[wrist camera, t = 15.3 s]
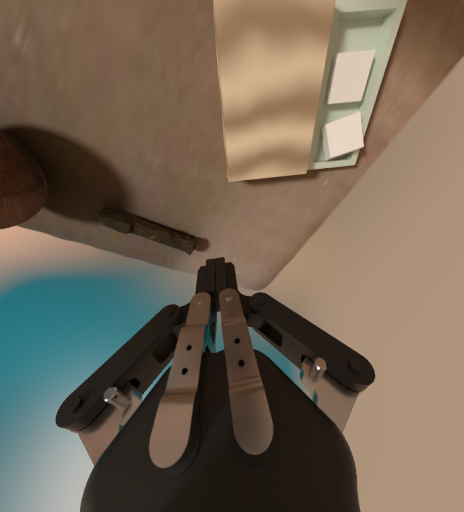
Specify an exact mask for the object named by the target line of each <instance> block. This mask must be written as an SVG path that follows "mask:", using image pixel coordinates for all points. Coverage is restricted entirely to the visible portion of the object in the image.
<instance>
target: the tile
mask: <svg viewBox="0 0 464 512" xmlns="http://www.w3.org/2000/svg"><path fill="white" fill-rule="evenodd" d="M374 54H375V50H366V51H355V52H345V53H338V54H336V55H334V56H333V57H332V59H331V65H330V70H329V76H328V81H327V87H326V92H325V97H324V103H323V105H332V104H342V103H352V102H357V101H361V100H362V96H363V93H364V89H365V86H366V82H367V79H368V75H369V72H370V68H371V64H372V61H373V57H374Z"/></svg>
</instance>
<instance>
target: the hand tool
mask: <svg viewBox="0 0 464 512" xmlns="http://www.w3.org/2000/svg"><path fill="white" fill-rule="evenodd" d="M99 219H100V221H101V222H102V223H103V225H105V226H107V227H110V228H112V229H114V230H116V231H118V232H121V233H124V234H128V233H132V234H136V235H139V236H142V237H145V238H147V239H150V240H153V241H156V242H159V243H161V244H164V245H167V246H170V247H173V248H176V249H179V250H182V251H185V252H186V253H188V254H189V255H191V253H192V252H193V250H194V248H195V244H196V238H191V237H190V236H189V235H188V236H185V235H182V234H180V233H177V232H174V231H171V230H168V229H166V228H165V227H161V226H158V225H155V224H152V223H150V222H147V221H145V220H142V219H139V218H137V217H136V215H134V214H131V213H127V212H123V211H117V210H110V209H103V210H101V211H100V212H99Z"/></svg>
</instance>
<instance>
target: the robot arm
mask: <svg viewBox="0 0 464 512" xmlns="http://www.w3.org/2000/svg"><path fill="white" fill-rule="evenodd" d="M197 276H198V277H197V284H196V293H195V295H194V296H193V298H192V300H191V302H190V303H188V304H186V305H184V306H181V307H179V306H177V305H175V304H173V305H168V306H166V307H164V308H163V309H162V310H161V311H160V312H159V313H157V314H156V315H155V316H154V317H153V318H152V319H151V320H150V321H149V322H148V323H147V324H146V325H145V326H144V327H143V328H142V329H140V330H139V331H138V332H137V333H136V334H135V335H134V336H133V337H132V338H131V339H130V340H129V341H127V342H126V343H125V344H124V345H123V346H122V347H121V348H120V349H119V350H118V351H117V352H116V353H114V354H113V355H112V356H111V357H110V358H109V359H108V360H107V361H106V362H105V363H104V364H103V365H102V366H101V367H99V368H98V369H97V370H96V371H95V372H94V373H93V374H92V375H91V376H90V377H89V378H88V379H87V380H85V382H83V383H82V384H81V385H80V386H79V387H78V388H77V389H76V390H75V391H74V392H73V393H71V394H70V395H69V396H68V397H67V399H66V400H65V401H64V402H63V403H62V405H61V406H60V408H59V410H58V412H57V415H56V424H57V426H59V427H61V428H65V429H68V430H70V431H72V432H75V433H78V435H79V436H80V438H81V440H82V443H83V444H84V446H85V448H86V450H87V452H88V454H89V456H90V458H91V460H92V462H93V464H94V468H93V470H92V472H91V474H90V477H89V479H88V481H87V484H86V487H85V490H84V493H83V497H82V501H81V508H80V512H360V507H359V500H358V492H357V474H356V467H355V463H354V459H353V456H352V453H351V450H350V447H349V445H348V443H347V441H346V439H345V437H344V436H343V434H342V432H343V430H344V428H345V425H346V423H347V420H348V418H349V415H350V413H351V410H352V408H353V406H354V403H355V401H356V398H357V396H359V395H360V394H361V393H362V392H363V391H364V390H365V389H366V388H367V387H368V386H369V385H370V384H371V383H372V382H373V381H374V379H375V372H374V369H373V367H372V365H371V364H370V362H369V361H368V360H367V359H366V358H365V357H363V356H362V355H360V354H359V353H357V352H356V351H354V350H353V349H351V348H350V347H348V346H347V345H345V344H343V343H342V342H340V341H339V340H337V339H336V338H334V337H333V336H331V335H329V334H328V333H326V332H325V331H323V330H322V329H320V328H318V327H317V326H316V325H314V324H312V323H311V322H309V321H308V320H306V319H305V318H303V317H302V316H300V315H298V314H297V313H295V312H294V311H292V310H291V309H289V308H288V307H286V306H285V305H283V304H281V303H280V302H278V301H277V300H275V299H274V298H272V297H271V296H269V295H268V294H266V293H261V292H259V293H256V294H254V295H252V297H251V296H245V295H242V294H241V293H240V292H239V291H238V287H237V281H236V274H235V267H234V265H233V264H232V263H231V262H229V263H225V258H224V257H221V258H216V259H207V260H206V266H201V267H200V269H199V270H198V275H197ZM218 311H221V319H222V323H221V324H222V334H223V341H224V350H222V351H219V352H217V353H216V333H217V312H218ZM248 326H249V327H253V329H254V330H255V331H256V332H257V333H258V334H260V335H261V336H262V337H263V338H264V339H265V340H267V341H268V342H269V343H270V344H271V345H273V346H274V347H275V348H276V349H277V350H278V351H279V352H281V353H282V354H283V355H284V356H285V357H287V358H288V359H289V360H290V361H291V362H292V363H294V364H295V365H296V366H297V367H298V368H299V369H300V379H301V381H302V384H303V385H304V386H305V388H306V389H307V390H308V391H309V393H310V394H311V396H312V399H313V401H312V400H311V399H310V398H309V397H308V396H307V395H306V394H305V393H304V392H303V391H302V390H301V389H300V388H299V387H298V386H297V385H296V384H295V383H294V382H293V381H292V380H291V379H290V378H289V377H288V376H287V375H286V374H285V373H284V372H283V371H282V370H281V369H280V368H279V367H278V366H277V365H276V364H275V363H274V362H273V361H272V360H271V359H270V358H269V357H267V356H266V355H264V354H263V353H262V352H260V351H257V350H254V349H253V346H252V342H251V338H250V334H249V330H248ZM173 357H174V358H173ZM172 358H173V362H172V365H171V366H170V367H169V368H168V369H167V371H166V372H165V373H164V374H163V375H162V377H161V378H160V379H159V381H158V382H157V383H156V384H155V386H154V387H153V388H152V390H151V391H150V392H149V394H148V395H147V396H146V397H145V399H144V400H143V401H142V395H143V394H144V392H145V391H146V390H147V389H148V387H149V386H150V385H151V384H152V383H153V381H154V380H155V379H156V378H157V376H158V375H159V374H160V373H161V372H162V370H163V369H164V368H165V367H166V366H167V364H168V363H169V362H170V361H171V359H172ZM141 402H142V403H141Z"/></svg>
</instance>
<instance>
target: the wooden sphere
mask: <svg viewBox="0 0 464 512" xmlns="http://www.w3.org/2000/svg"><path fill="white" fill-rule="evenodd" d="M46 197H47V183H46V179H45V176H44V174H43V172H42V170H41V168H40V166H39V165H38V163H37V162H36V160H35V159H34V158H33V157H32V155H31V154H30V153H29V152H28V151H27V150H26V149H25V148H24V147H23V146H22V145H21V144H19V143H18V142H17V141H16V140H14V139H13V138H12V137H10V136H9V135H8V134H6V133H5V132H3V131H2V130H0V229H5V228H9V227H13V226H16V225H18V224H21V223H23V222H25V221H27V220H29V219H30V218H32V217H33V216H34V215H36V214H37V213H38V212H39V211H40V209H41V208H42V207H43V205H44V203H45V200H46Z"/></svg>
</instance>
